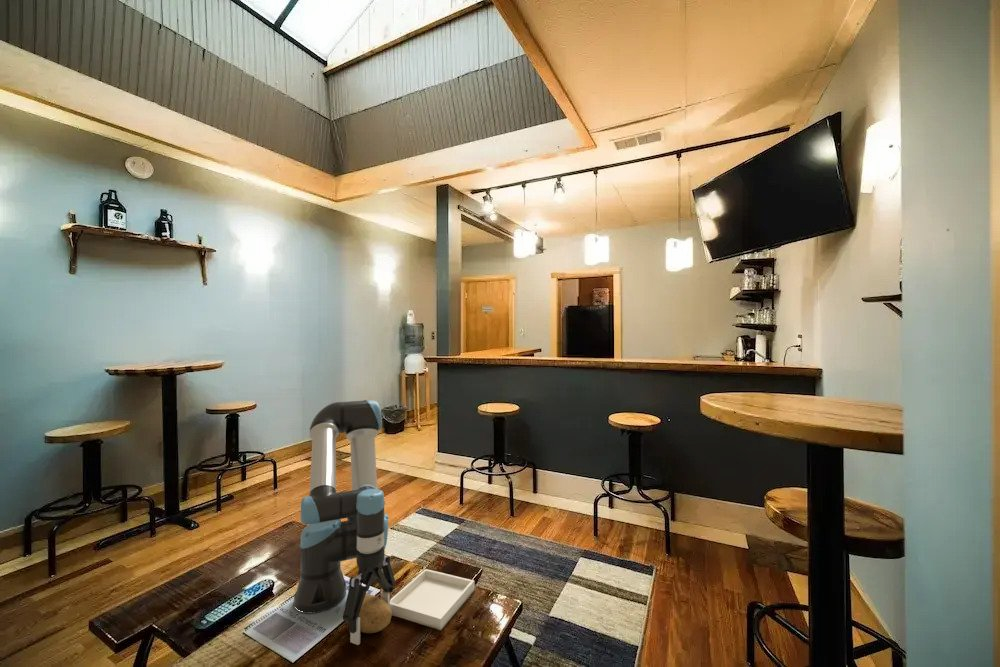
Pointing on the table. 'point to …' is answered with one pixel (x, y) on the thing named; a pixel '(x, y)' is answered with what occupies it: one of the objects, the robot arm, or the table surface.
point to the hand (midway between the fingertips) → (370, 628)
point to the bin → (431, 598)
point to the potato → (374, 614)
